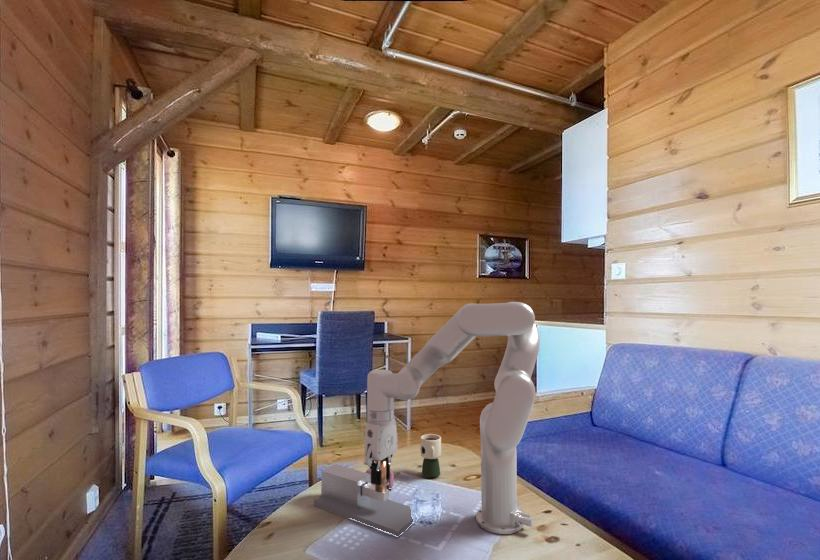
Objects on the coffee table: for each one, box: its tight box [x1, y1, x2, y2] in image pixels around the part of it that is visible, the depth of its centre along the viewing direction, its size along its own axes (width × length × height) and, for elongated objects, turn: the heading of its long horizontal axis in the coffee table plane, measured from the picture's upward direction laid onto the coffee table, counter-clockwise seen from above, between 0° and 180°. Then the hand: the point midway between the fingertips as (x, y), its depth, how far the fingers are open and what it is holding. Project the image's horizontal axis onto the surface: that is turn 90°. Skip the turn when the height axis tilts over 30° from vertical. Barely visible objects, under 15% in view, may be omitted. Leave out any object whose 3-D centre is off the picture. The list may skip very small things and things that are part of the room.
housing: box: [320, 463, 371, 509], centre depth 120 cm, size 14×6×7 cm, turn 57°
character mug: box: [419, 433, 442, 479], centre depth 139 cm, size 11×7×13 cm, turn 4°
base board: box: [313, 496, 413, 536], centre depth 116 cm, size 30×12×2 cm, turn 57°
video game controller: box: [365, 467, 395, 489], centre depth 131 cm, size 10×5×7 cm, turn 85°
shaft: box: [361, 459, 390, 502], centre depth 118 cm, size 20×3×10 cm, turn 57°
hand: (380, 480), depth 113 cm, fingers closed on shaft, 3 cm apart
